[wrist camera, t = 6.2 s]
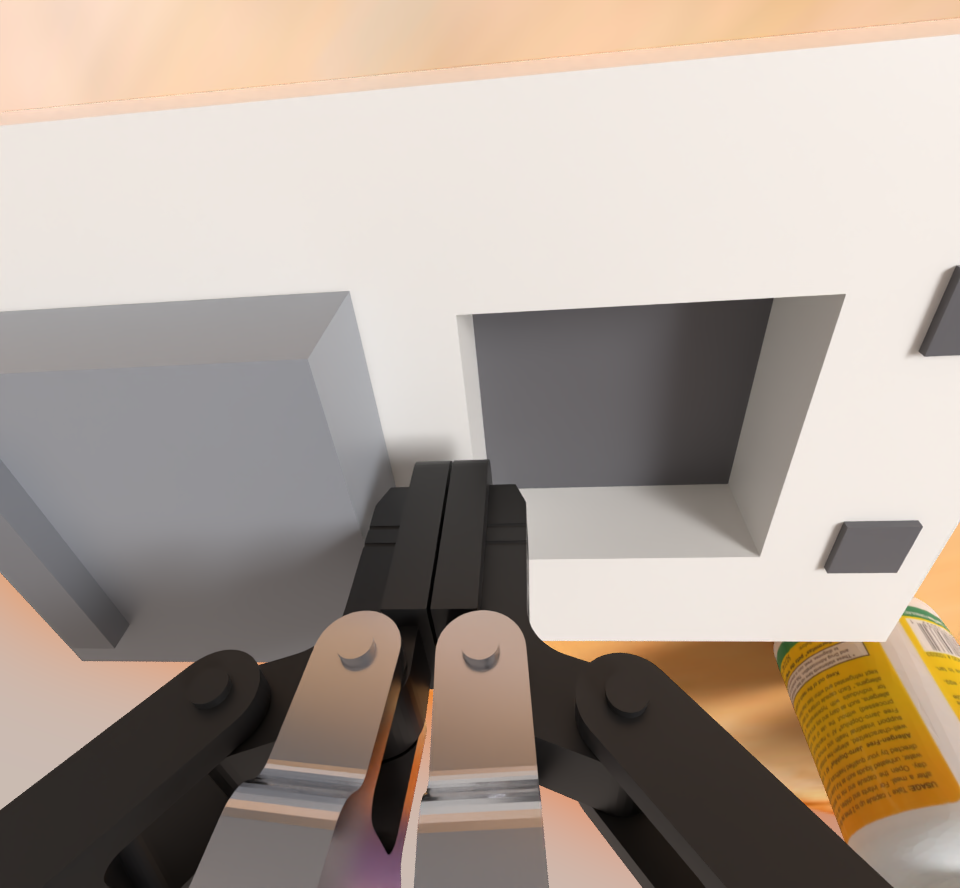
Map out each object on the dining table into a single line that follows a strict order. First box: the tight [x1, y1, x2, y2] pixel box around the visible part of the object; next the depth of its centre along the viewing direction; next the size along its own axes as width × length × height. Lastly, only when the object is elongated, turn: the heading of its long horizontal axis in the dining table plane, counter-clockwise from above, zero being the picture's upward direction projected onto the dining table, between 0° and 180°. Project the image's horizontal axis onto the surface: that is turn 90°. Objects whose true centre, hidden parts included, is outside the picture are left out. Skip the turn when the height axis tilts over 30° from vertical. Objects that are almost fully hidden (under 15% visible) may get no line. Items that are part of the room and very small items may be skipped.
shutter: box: [0, 291, 396, 662], centre depth 12 cm, size 8×8×3 cm
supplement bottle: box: [773, 597, 960, 888], centre depth 16 cm, size 5×5×10 cm
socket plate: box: [0, 18, 960, 642], centre depth 13 cm, size 14×21×3 cm, turn 95°
